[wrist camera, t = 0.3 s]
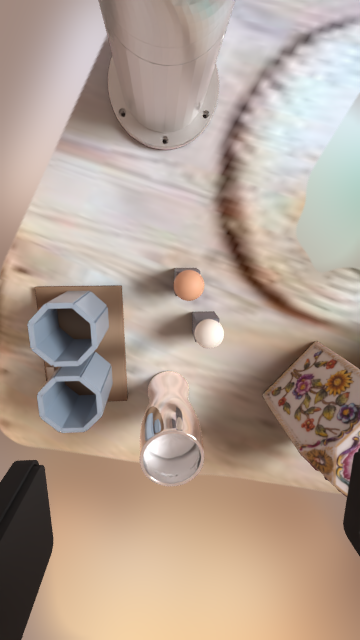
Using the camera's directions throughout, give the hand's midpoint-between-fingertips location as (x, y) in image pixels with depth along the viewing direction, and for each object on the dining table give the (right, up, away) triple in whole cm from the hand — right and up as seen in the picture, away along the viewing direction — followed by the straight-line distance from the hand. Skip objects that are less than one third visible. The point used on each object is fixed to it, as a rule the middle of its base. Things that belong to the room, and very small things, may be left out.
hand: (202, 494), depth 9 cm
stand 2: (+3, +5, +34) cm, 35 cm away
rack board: (-14, +2, +34) cm, 37 cm away
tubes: (-14, +2, +34) cm, 37 cm away
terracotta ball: (0, +10, +29) cm, 31 cm away
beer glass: (-2, -5, +37) cm, 37 cm away
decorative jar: (+20, -5, +38) cm, 43 cm away
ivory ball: (+3, +4, +31) cm, 31 cm away
